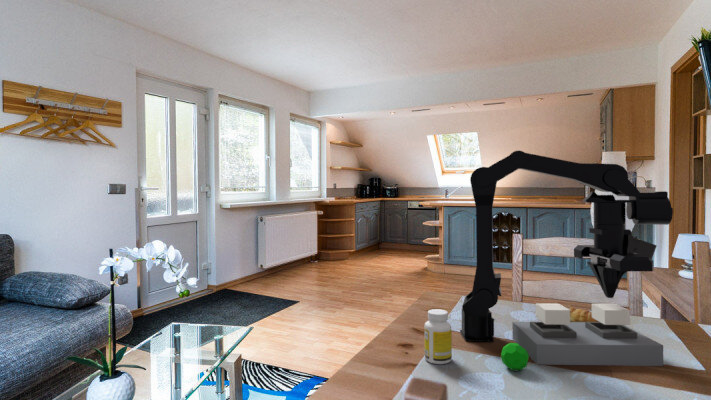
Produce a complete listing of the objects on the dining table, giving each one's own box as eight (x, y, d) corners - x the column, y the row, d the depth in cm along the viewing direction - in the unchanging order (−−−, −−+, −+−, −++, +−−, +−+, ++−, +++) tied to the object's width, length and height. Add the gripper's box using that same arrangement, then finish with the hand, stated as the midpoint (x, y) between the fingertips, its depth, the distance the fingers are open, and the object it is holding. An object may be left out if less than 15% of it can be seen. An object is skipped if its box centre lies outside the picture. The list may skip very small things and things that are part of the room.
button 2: (604, 324, 82) (604, 310, 82) (591, 317, 87) (591, 303, 87) (629, 324, 82) (629, 310, 82) (615, 317, 87) (615, 303, 87)
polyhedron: (502, 373, 75) (502, 348, 75) (499, 362, 80) (499, 338, 80) (531, 375, 74) (531, 350, 74) (526, 364, 79) (526, 340, 79)
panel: (537, 364, 79) (536, 338, 79) (512, 338, 93) (512, 316, 93) (663, 365, 78) (663, 339, 78) (619, 339, 92) (619, 317, 91)
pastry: (612, 326, 102) (612, 311, 102) (605, 333, 97) (605, 317, 97) (571, 318, 108) (571, 304, 108) (563, 324, 103) (563, 310, 103)
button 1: (545, 324, 83) (545, 310, 83) (535, 317, 88) (535, 303, 88) (570, 324, 83) (569, 310, 83) (558, 317, 88) (558, 303, 88)
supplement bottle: (456, 359, 82) (456, 311, 82) (442, 367, 78) (441, 317, 78) (434, 352, 85) (433, 306, 85) (419, 359, 82) (418, 311, 81)
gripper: (682, 227, 75) (682, 310, 75) (621, 220, 94) (621, 287, 94) (621, 227, 75) (621, 310, 76) (572, 221, 94) (572, 287, 94)
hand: (609, 297), depth 85 cm, fingers closed
